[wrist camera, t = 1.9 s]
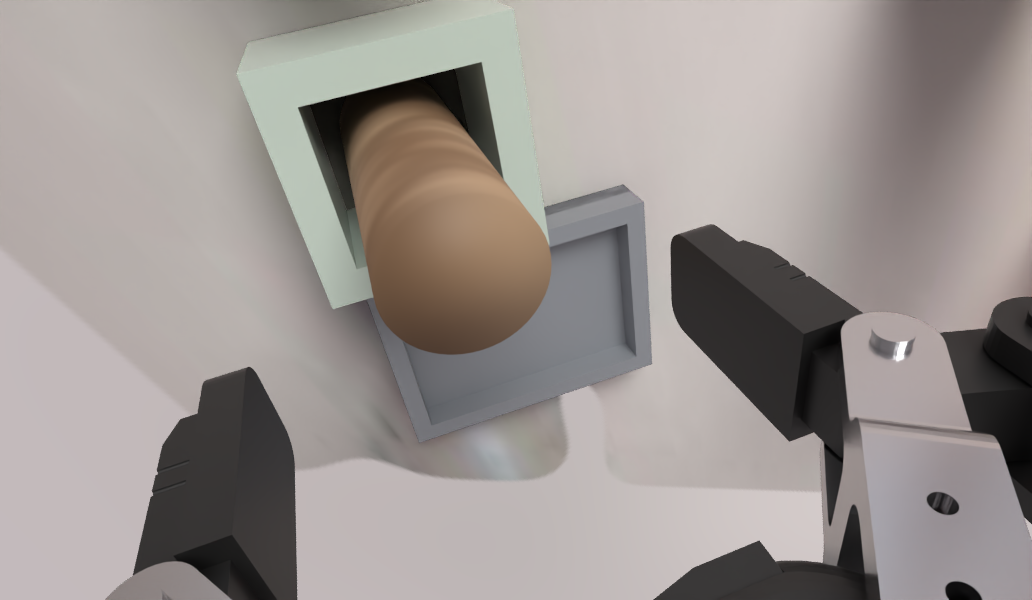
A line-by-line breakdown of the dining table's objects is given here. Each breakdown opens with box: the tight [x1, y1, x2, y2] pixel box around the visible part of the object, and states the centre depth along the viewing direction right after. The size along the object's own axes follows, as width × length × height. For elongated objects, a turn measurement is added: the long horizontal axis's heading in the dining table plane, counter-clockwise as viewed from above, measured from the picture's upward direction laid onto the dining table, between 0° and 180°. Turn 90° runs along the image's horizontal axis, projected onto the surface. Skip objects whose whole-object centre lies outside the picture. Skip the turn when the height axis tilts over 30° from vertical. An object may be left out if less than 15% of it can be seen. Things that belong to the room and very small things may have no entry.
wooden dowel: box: [340, 78, 552, 355], centre depth 18 cm, size 4×4×12 cm
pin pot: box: [236, 0, 550, 309], centre depth 21 cm, size 8×8×5 cm
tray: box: [367, 185, 652, 443], centre depth 28 cm, size 12×9×2 cm
